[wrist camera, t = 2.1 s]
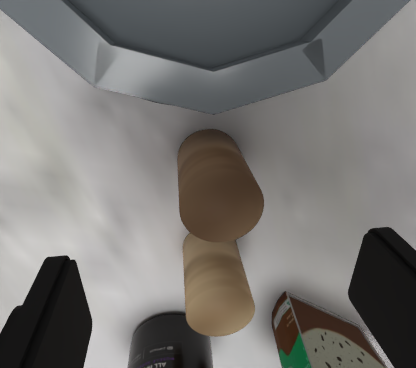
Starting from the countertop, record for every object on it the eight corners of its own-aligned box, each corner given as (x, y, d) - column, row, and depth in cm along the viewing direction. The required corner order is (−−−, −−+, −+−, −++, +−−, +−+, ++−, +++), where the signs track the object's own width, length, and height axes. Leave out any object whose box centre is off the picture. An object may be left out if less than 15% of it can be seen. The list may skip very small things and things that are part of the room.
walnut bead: (251, 157, 20) (280, 204, 15) (209, 197, 21) (221, 255, 16) (208, 115, 19) (222, 152, 13) (164, 161, 20) (161, 212, 14)
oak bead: (246, 244, 23) (268, 308, 18) (209, 275, 24) (220, 345, 19) (209, 215, 22) (221, 276, 16) (171, 249, 23) (171, 317, 18)
